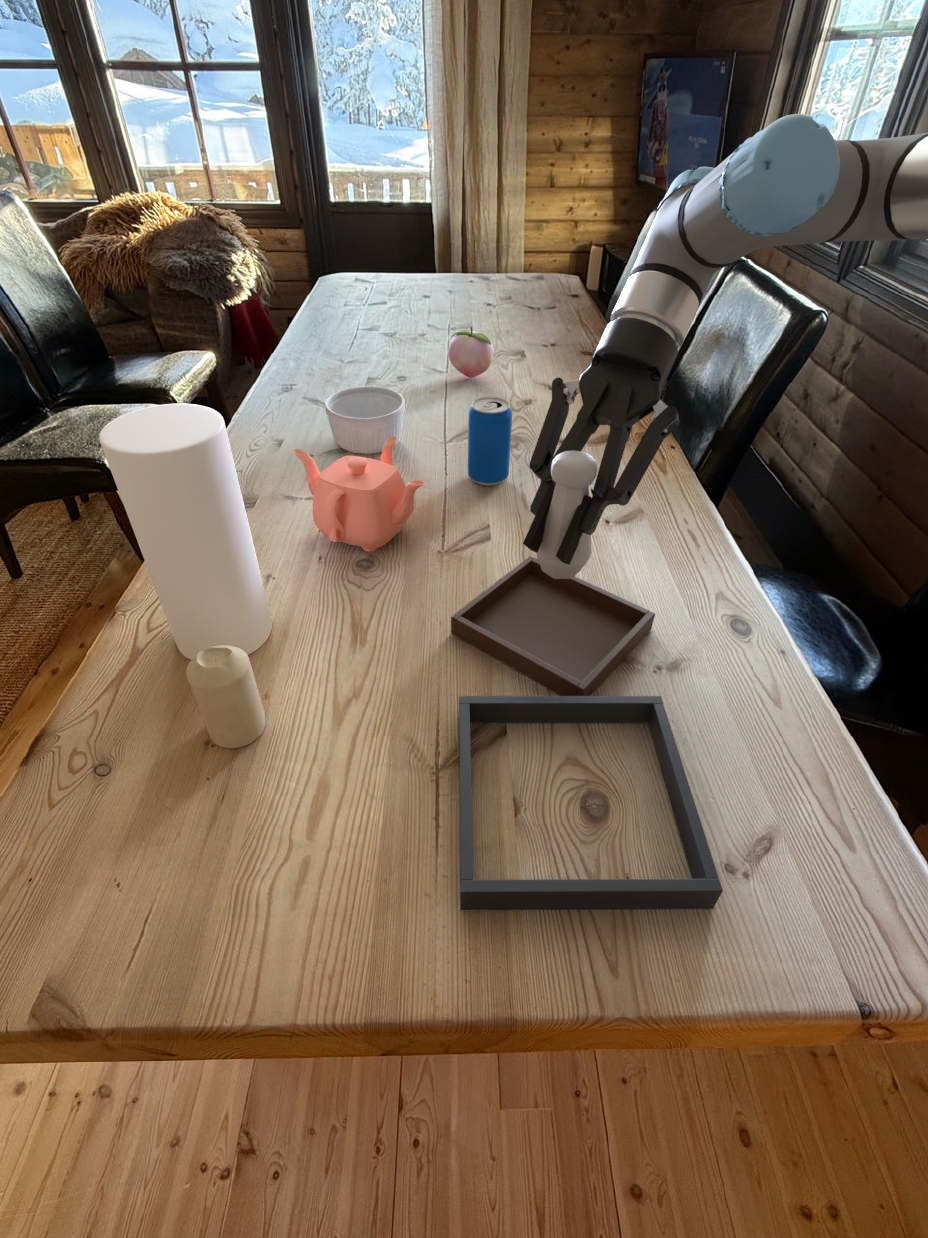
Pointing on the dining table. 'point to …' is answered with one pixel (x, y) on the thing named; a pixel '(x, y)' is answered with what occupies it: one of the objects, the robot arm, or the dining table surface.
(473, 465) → the beverage can
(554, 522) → the salt shaker
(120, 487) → the tall pillar cylinder
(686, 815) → the open gray frame
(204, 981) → the dining table surface
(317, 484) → the teapot
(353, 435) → the ramekin
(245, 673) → the candle
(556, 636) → the tray
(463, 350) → the decorative fruit
